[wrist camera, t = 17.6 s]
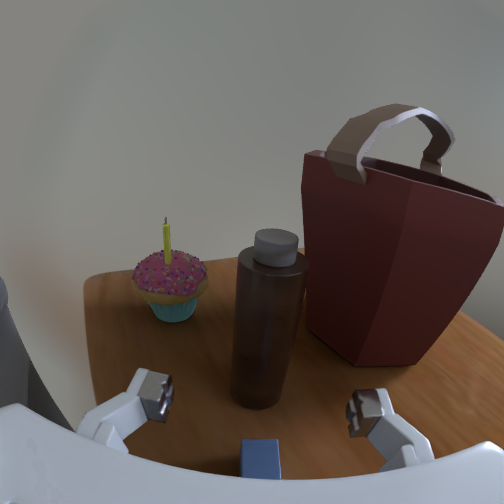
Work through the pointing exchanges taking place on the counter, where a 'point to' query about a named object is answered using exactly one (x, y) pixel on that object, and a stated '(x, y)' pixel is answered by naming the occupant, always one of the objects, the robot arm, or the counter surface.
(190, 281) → the cupcake
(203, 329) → the counter surface
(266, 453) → the blue stick
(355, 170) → the bucket
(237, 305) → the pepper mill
